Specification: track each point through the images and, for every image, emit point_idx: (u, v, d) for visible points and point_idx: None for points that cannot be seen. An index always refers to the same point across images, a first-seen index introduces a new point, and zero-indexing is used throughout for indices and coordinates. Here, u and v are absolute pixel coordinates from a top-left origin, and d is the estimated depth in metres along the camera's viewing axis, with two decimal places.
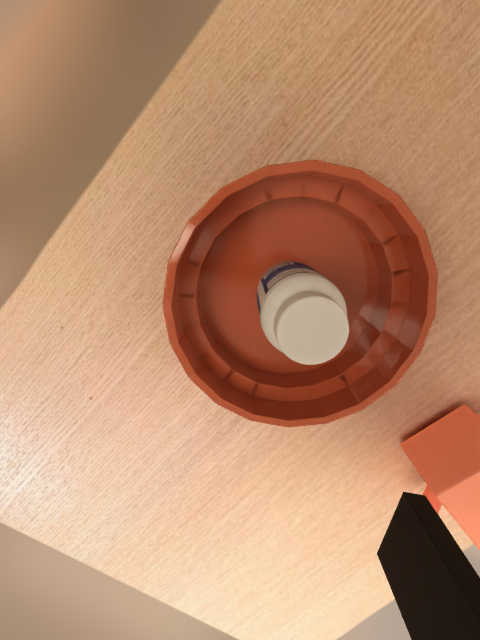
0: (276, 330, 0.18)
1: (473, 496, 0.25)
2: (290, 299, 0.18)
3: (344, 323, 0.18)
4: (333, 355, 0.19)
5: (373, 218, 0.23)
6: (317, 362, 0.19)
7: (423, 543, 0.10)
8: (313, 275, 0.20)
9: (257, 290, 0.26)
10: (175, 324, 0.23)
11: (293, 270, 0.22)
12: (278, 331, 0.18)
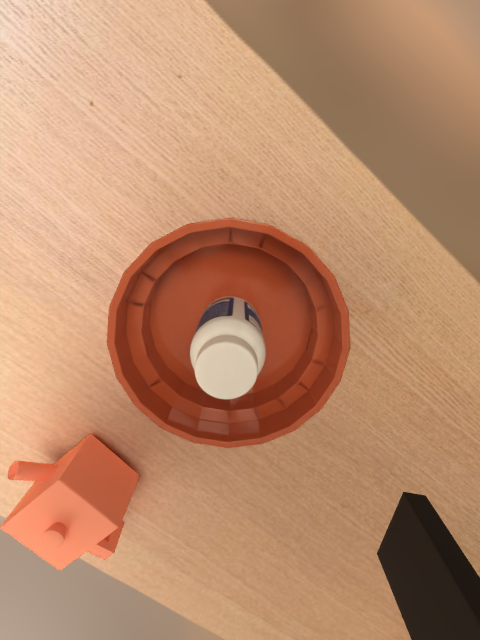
0: (225, 341, 0.21)
1: (64, 506, 0.28)
2: (251, 349, 0.21)
3: (234, 395, 0.21)
4: (205, 389, 0.21)
5: (298, 389, 0.29)
6: (197, 377, 0.21)
7: (423, 543, 0.10)
8: (264, 359, 0.24)
9: (234, 298, 0.28)
10: (208, 230, 0.23)
11: (263, 338, 0.25)
12: (225, 344, 0.20)
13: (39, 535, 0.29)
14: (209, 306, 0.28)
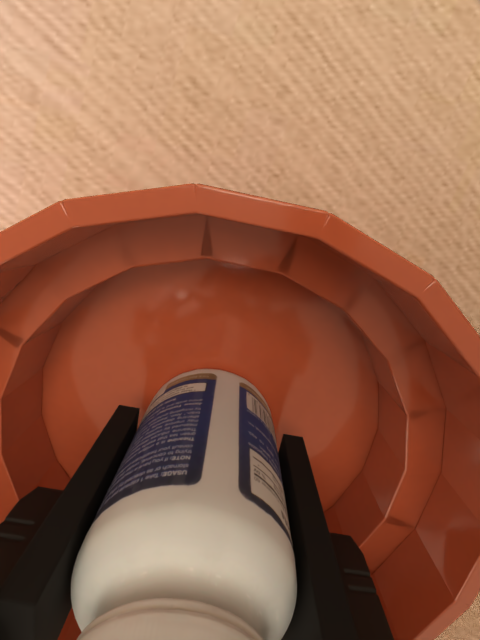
0: None
1: None
2: None
3: None
4: None
5: None
6: None
7: (286, 470, 0.11)
8: None
9: (218, 379, 0.13)
10: (129, 221, 0.07)
11: None
12: None
13: None
14: (160, 397, 0.12)
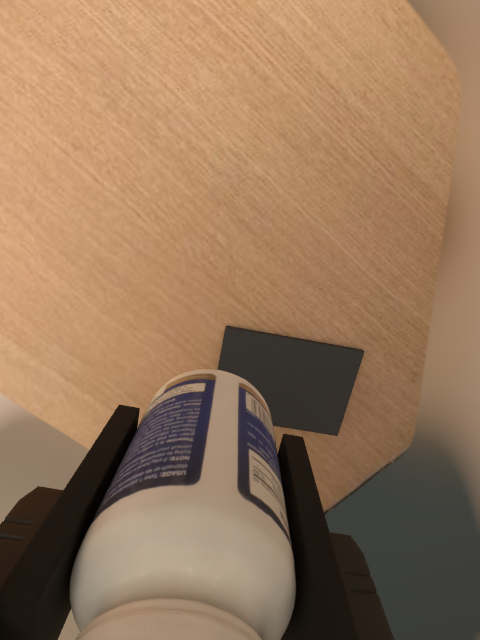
0: None
1: None
2: None
3: None
4: None
5: None
6: None
7: (286, 470, 0.11)
8: None
9: (217, 379, 0.13)
10: None
11: (286, 513, 0.10)
12: None
13: None
14: (159, 397, 0.12)
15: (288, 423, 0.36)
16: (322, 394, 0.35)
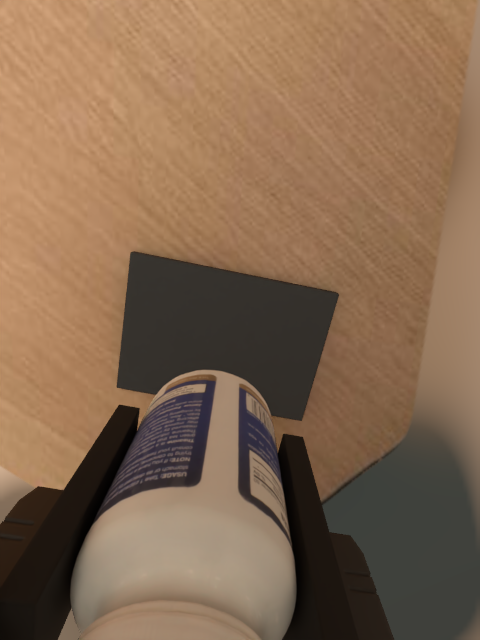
0: None
1: None
2: None
3: None
4: None
5: None
6: None
7: (285, 470, 0.11)
8: None
9: (217, 380, 0.13)
10: None
11: (286, 514, 0.10)
12: None
13: None
14: (160, 398, 0.12)
15: None
16: (278, 359, 0.24)
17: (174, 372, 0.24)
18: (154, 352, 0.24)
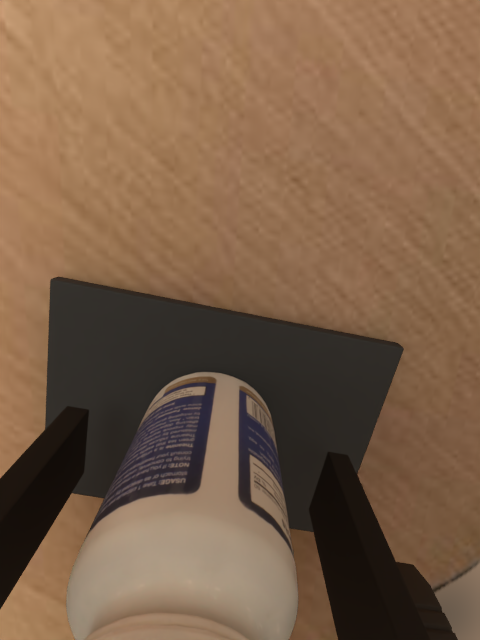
0: None
1: None
2: None
3: None
4: None
5: None
6: None
7: (336, 492, 0.11)
8: None
9: (217, 382, 0.13)
10: None
11: (287, 520, 0.09)
12: None
13: None
14: (159, 401, 0.12)
15: None
16: (300, 447, 0.15)
17: None
18: (100, 436, 0.15)
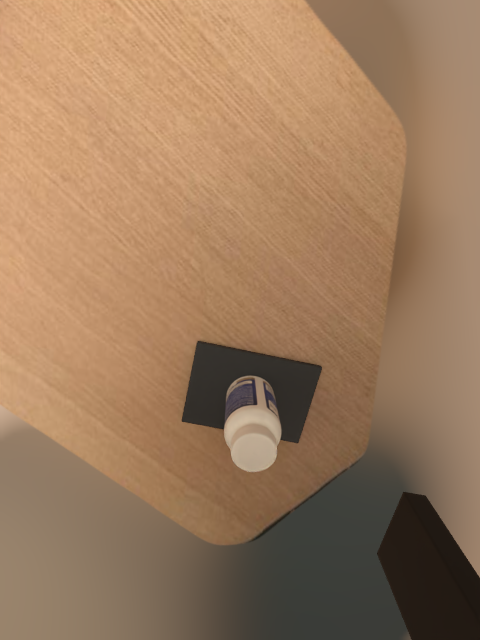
0: (255, 432, 0.28)
1: None
2: (273, 436, 0.29)
3: (259, 469, 0.29)
4: (237, 465, 0.29)
5: None
6: (232, 456, 0.29)
7: (423, 543, 0.10)
8: (280, 437, 0.31)
9: (255, 379, 0.36)
10: None
11: None
12: (255, 434, 0.28)
13: None
14: (235, 385, 0.36)
15: None
16: (284, 405, 0.38)
17: (219, 412, 0.39)
18: (207, 400, 0.38)
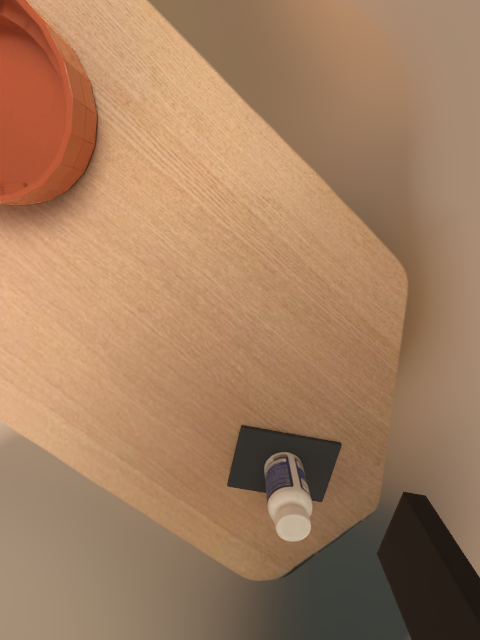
0: (294, 513, 0.37)
1: None
2: (307, 514, 0.38)
3: (297, 539, 0.38)
4: (280, 536, 0.38)
5: None
6: (277, 530, 0.38)
7: (423, 543, 0.10)
8: (311, 510, 0.40)
9: (288, 456, 0.45)
10: None
11: (309, 493, 0.42)
12: (294, 515, 0.37)
13: None
14: (272, 462, 0.45)
15: None
16: (310, 473, 0.47)
17: (257, 479, 0.48)
18: (248, 470, 0.47)
